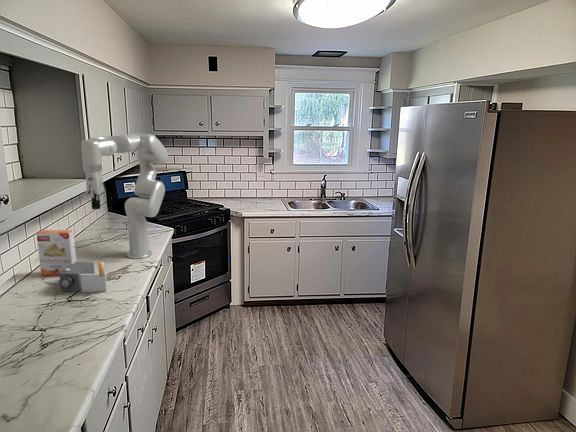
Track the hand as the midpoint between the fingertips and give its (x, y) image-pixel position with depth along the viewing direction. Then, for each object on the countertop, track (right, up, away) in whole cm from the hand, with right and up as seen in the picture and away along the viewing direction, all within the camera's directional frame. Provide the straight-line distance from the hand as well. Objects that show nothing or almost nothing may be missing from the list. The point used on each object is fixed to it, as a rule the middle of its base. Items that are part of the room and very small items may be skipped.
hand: (96, 208), depth 183 cm
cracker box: (-21, -31, +7) cm, 38 cm away
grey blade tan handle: (+4, -36, -11) cm, 38 cm away
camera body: (-6, -34, -5) cm, 35 cm away
